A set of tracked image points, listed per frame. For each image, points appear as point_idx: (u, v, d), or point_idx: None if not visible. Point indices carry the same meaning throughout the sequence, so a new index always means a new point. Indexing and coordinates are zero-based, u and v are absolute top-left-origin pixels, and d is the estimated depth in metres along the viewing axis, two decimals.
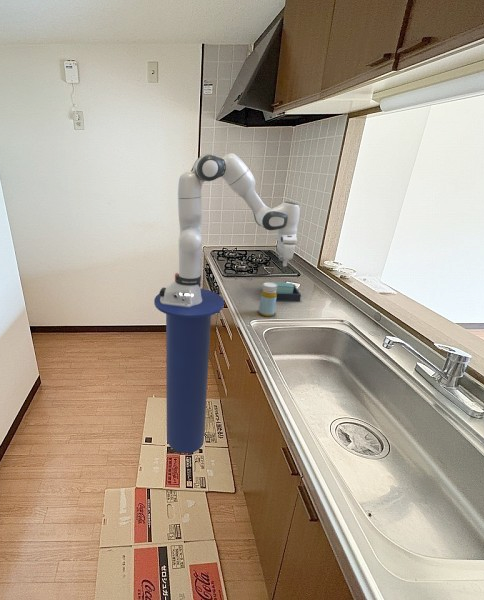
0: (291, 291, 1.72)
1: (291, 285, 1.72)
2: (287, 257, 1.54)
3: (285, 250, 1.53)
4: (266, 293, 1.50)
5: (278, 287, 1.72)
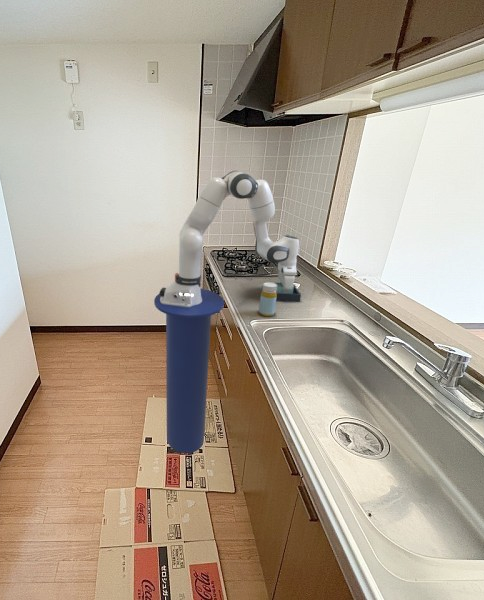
0: (291, 291, 1.72)
1: None
2: (287, 287, 1.64)
3: (285, 281, 1.63)
4: (266, 293, 1.50)
5: (278, 287, 1.72)
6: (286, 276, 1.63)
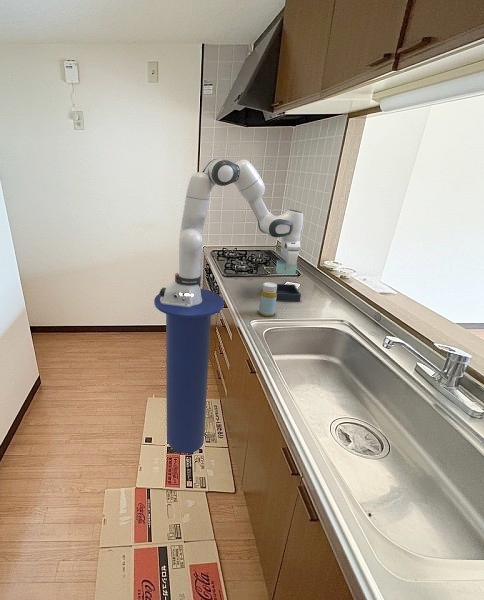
0: (294, 269, 1.67)
1: None
2: (291, 263, 1.59)
3: (289, 256, 1.58)
4: (266, 293, 1.50)
5: (281, 264, 1.67)
6: (290, 251, 1.58)
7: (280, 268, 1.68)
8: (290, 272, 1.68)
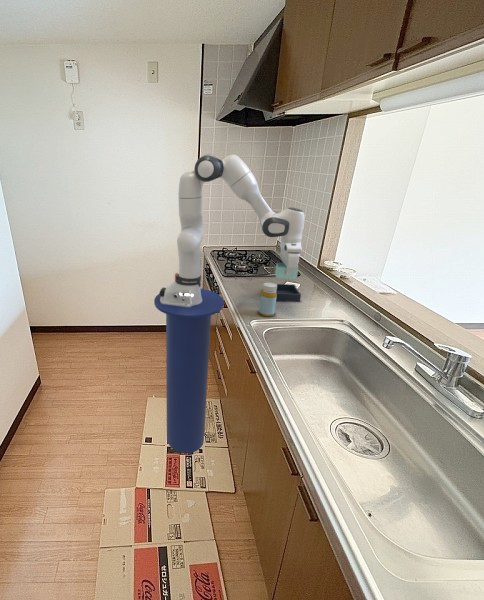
0: (295, 272, 1.53)
1: None
2: (291, 267, 1.44)
3: (289, 259, 1.44)
4: (266, 293, 1.50)
5: (281, 267, 1.53)
6: (290, 254, 1.43)
7: (280, 272, 1.54)
8: (291, 276, 1.54)
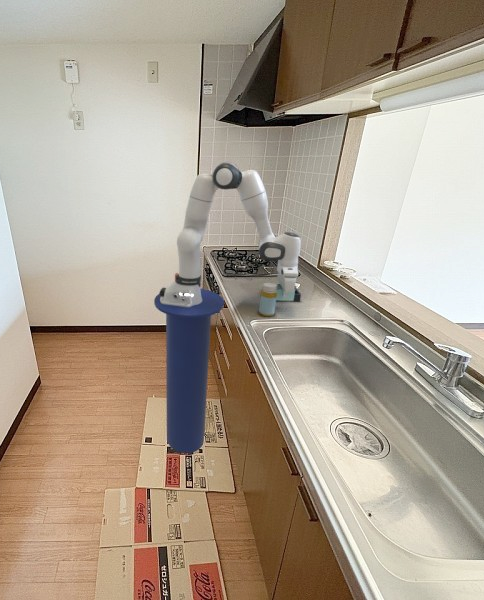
0: (292, 295, 1.56)
1: None
2: (288, 291, 1.47)
3: (286, 283, 1.47)
4: (266, 293, 1.50)
5: (278, 290, 1.56)
6: (286, 278, 1.46)
7: (277, 294, 1.57)
8: (288, 298, 1.57)
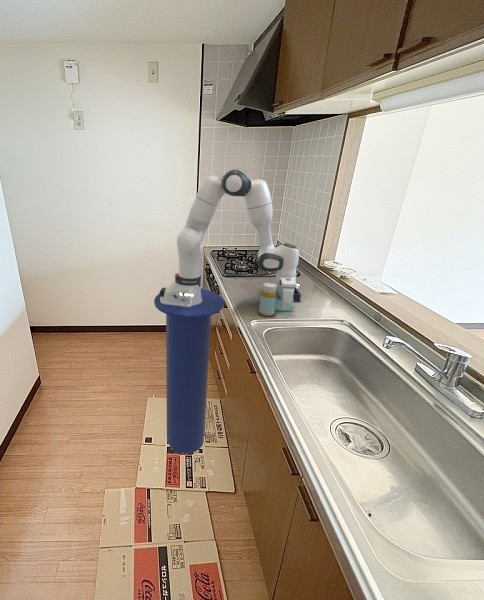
0: (290, 305, 1.58)
1: None
2: (286, 301, 1.49)
3: (284, 294, 1.49)
4: (266, 293, 1.50)
5: (276, 300, 1.58)
6: (285, 289, 1.48)
7: None
8: (286, 308, 1.59)
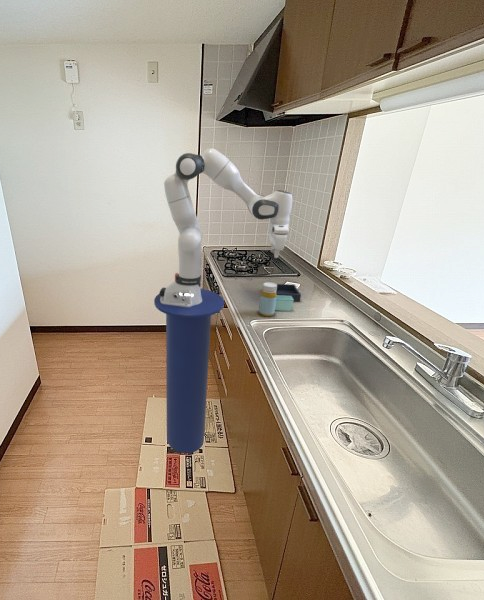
0: (290, 305, 1.58)
1: (290, 298, 1.58)
2: (278, 248, 1.48)
3: (276, 240, 1.47)
4: (266, 293, 1.50)
5: (276, 300, 1.58)
6: (277, 235, 1.47)
7: None
8: (286, 308, 1.59)
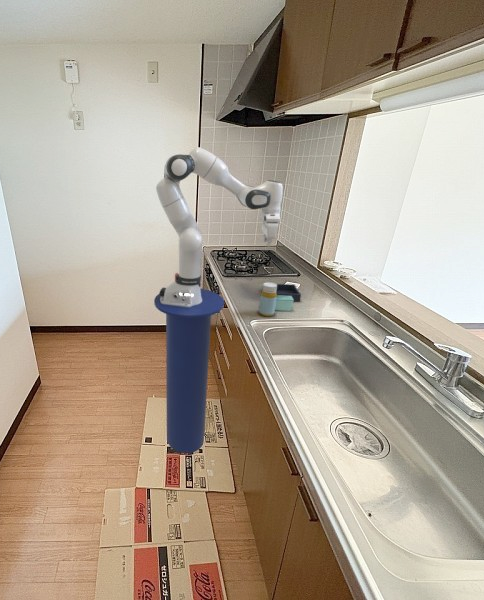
0: (290, 305, 1.58)
1: (290, 298, 1.58)
2: (270, 236, 1.52)
3: (268, 229, 1.52)
4: (266, 293, 1.50)
5: (276, 300, 1.58)
6: (269, 223, 1.51)
7: None
8: (286, 308, 1.59)
